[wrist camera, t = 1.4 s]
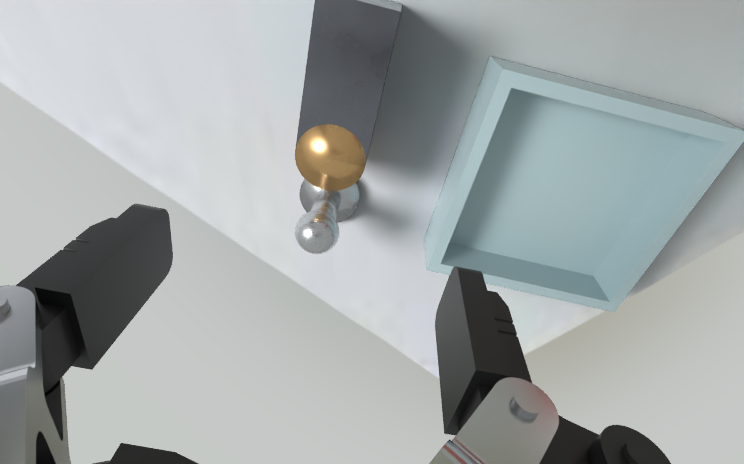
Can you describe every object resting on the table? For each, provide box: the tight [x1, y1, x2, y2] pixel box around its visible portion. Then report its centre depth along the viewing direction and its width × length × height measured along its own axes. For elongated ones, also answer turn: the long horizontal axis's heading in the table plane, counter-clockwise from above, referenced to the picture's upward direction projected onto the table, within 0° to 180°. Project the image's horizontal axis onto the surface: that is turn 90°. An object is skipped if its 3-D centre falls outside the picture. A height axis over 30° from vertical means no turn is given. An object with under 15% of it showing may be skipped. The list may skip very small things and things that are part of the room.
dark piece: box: [295, 0, 402, 191], centre depth 24 cm, size 4×10×6 cm, turn 167°
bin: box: [424, 56, 744, 312], centre depth 28 cm, size 14×14×4 cm
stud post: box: [295, 179, 360, 254], centre depth 28 cm, size 4×4×7 cm
